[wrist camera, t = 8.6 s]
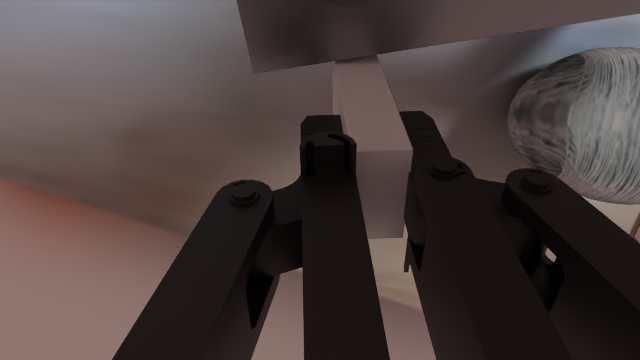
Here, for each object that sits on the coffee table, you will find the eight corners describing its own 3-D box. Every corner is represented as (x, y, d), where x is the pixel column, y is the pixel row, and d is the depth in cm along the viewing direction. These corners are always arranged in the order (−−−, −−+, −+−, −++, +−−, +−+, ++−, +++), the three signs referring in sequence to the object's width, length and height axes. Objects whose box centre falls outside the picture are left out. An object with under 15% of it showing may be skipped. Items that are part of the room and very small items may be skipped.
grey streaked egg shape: (468, 179, 32) (607, 215, 23) (495, 35, 31) (652, 14, 22) (603, 193, 38) (757, 226, 29) (631, 71, 36) (800, 66, 27)
